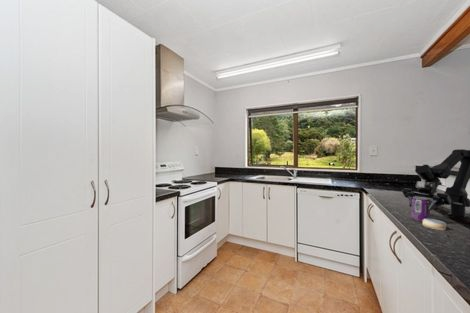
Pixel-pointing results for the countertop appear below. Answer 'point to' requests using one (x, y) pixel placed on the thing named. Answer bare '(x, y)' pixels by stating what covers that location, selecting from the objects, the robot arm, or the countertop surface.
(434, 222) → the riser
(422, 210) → the beverage can
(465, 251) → the countertop surface
